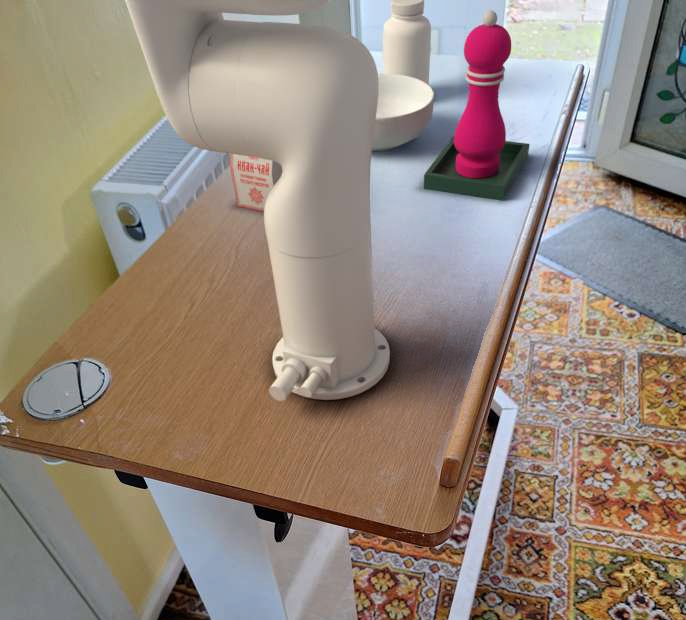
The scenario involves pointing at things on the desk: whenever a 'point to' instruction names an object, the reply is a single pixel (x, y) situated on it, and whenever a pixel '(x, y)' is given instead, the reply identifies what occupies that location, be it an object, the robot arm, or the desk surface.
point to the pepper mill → (483, 100)
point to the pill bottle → (407, 40)
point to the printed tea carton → (253, 180)
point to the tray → (491, 187)
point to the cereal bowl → (401, 110)
